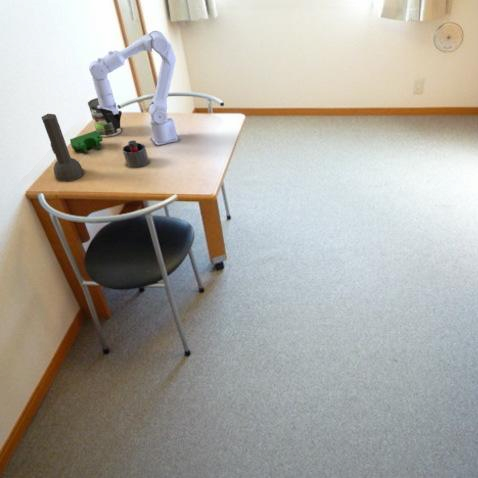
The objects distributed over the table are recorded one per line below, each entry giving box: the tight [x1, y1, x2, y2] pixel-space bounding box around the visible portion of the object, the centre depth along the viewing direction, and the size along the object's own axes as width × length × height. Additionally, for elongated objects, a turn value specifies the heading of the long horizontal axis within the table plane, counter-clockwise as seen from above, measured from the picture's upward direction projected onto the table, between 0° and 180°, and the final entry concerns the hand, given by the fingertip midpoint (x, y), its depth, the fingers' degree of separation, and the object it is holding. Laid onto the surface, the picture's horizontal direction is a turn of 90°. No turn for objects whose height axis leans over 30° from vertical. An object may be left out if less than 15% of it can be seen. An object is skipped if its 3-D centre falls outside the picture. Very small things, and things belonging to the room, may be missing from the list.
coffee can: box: [87, 97, 122, 138], centre depth 214 cm, size 10×10×14 cm
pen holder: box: [122, 142, 149, 169], centre depth 194 cm, size 8×8×6 cm
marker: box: [127, 140, 138, 152], centre depth 193 cm, size 3×3×8 cm
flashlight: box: [41, 113, 84, 182], centre depth 181 cm, size 10×25×10 cm
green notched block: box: [69, 130, 103, 155], centre depth 203 cm, size 12×6×9 cm, turn 130°
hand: (113, 125), depth 199 cm, fingers open, 7 cm apart
